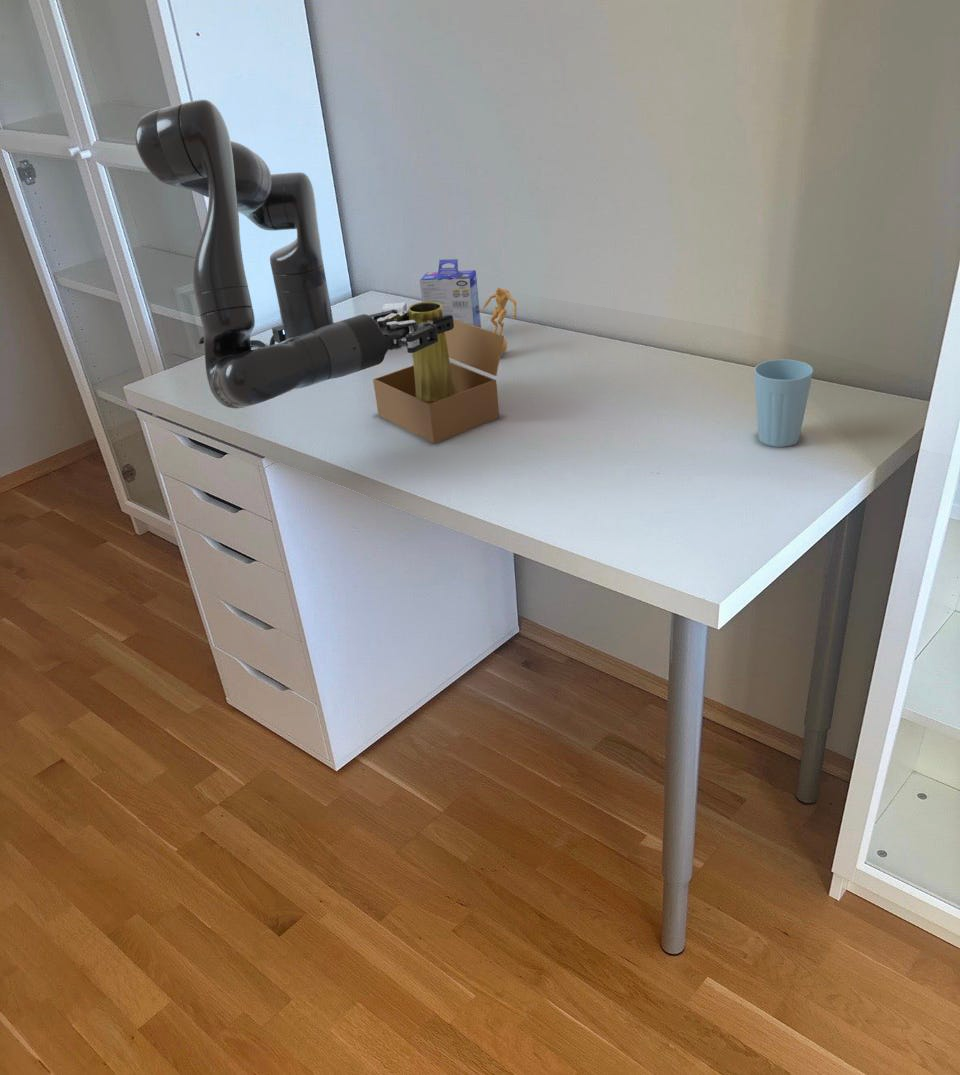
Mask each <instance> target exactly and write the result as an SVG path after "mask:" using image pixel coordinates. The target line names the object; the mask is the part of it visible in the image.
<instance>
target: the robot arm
mask: <svg viewBox="0 0 960 1075" xmlns="http://www.w3.org/2000/svg"><path fill="white" fill-rule="evenodd" d="M134 143H135V147H136V151H137V154H138V156H139V158H140V160H141V162H142V163H143V166H144V167H145V168H146V169H147V170H148V172H149V173H150V174H151V175H152V176H153V177H154V178H155V179H156V180H158V181H159V182H160V183H163V184H165V185H167V186H172V187H178V188H181V189H186V190H190V191H193V192H194V193H195V192H196V193H197V194H200V195H202V196H204V197H206V198H208V203H207V205H208V206H207V212H206V217H205V222H204V225H203V228H202V233H201V235H200V238H199V241H198V244H197V247H196V251H195V253H194V254H195V255H194V258H193V262H192V263H193V264H192V273H191V275H192V286H193V291H194V297H195V301H196V304H197V309H198V313H199V316H200V317H199V318H200V322H201V325H202V329H203V336H201V337H200V339H199V342H198V344H199V345H203V347H204V364H205V373H206V378H207V383H208V386H209V389H210V391H211V394H212V395H213V397H214V398H215V399H216V401H217V402H218V403H219V404H221V405H222V406H223V407H226V408H229V409H234V410H235V409H238V410H239V409H244V408H247V407H252V406H255V405H258V404H262V403H264V402H267V401H269V400H272V399H274V398H276V397H279V396H282V395H284V394H287V393H289V392H291V391H294V390H296V389H297V390H299V389H303V388H304V389H305V388H307V387H310V386H313V385H316V384H319V383H322V382H325V381H329V380H333V379H338V378H339V379H340V378H342V377H345V376H348V375H351V374H354V373H358V372H361V371H363V370H367V369H369V368H373V367H376V366H379V365H380V364H382V363H383V361H384V359H385V357H386V354H387V352H388V351H389V350H390V351H397V350H400V349H402V348H406V350H407V353H408V354H412V353H414V352H416V351H419V350H421V349H423V348H425V347H427V346H429V345H432V344H434V343H436V342H438V334H440V333H443V332H446V331H449V330H452V329H453V327H454V322H453V316H452V315H449V314H447V315H444V316H441V317H438V318H435V319H432V320H428V321H422V322H416V320H409V313H407V311H408V310H407V311H401V312H399V313H398V312H397V310H394V309H393V310H390V311H385V312H382V311H381V312H377V313H373V314H366V313H363V314H358V315H356V316H352V317H349V318H346V319H342V320H339V321H336V322H334V317H333V312H332V306H331V305H332V304H331V299H330V294H329V293H330V292H329V289H328V283H327V276H326V272H325V267H324V260H323V253H322V252H323V251H322V243H321V237H320V231H319V230H320V229H319V224H318V223H319V222H318V213H317V205H316V204H317V203H316V197H315V192H314V187H313V184H312V181H311V179H310V178H309V176H308V175H307V174H306V173H305V172H302V171H301V172H300V171H299V172H285V173H284V172H283V173H282V172H281V173H273V174H272V173H271V171H270V168H269V166H268V165H267V163H266V161H265V160H264V159H263V158H262V157H261V156H260V155H259V154H258V153H256V152H255V151H253V150H252V149H250V148H249V147H247V146H245V145H244V144H241V143H239V142H236V141H233V140H231V138H230V133H229V130H228V127H227V125H226V121H225V119H224V117H223V115H222V113H221V112H220V110H219V109H218V108H217V106H216V105H215V104H214V103H213V102H212V101H210V100H207V99H196V100H192V101H187V102H183V103H179V104H175V105H170V106H166V107H162V108H160V109H155V110H152V111H149V112H148V113H146V114H145V115H143V116H142V117H141V118H140V119H139V120H138V123H136V126H135V131H134ZM239 214H241V215H244V217H246V218H247V219H248V220H249V221H250V222H252V223H253V224H254V225H255V226H256V227H258V228H259V229H262V230H264V231H271V232H274V231H287V230H290V231H291V230H296V238H295V239H294V240H293V241H292V242H290V243H289V244H287V245H285V246H283V247H280V248H279V249H276V250H275V251H273V252H272V254H270V257H269V264H270V268H271V273H272V279H273V283H274V289H275V293H276V298H277V303H278V308H279V313H280V320H281V325H277V326H273V327H271V331H272V336H271V337H270V340H269V345H266V344H265V343H264V342H263V341H261V340H257V339H254V340H253V339H251V335H252V332H253V330H254V328H255V324H256V322H255V321H256V320H255V319H256V318H255V312H254V308H253V304H252V299H251V293H250V289H249V285H248V281H247V276H246V272H245V265H244V259H243V252H242V244H241V231H240V229H241V228H240V218H239ZM410 326H412V331H413V332H410ZM421 327H423V328H421ZM419 328H421V329H419ZM252 346H258V347H257V348H253V349H252Z"/></svg>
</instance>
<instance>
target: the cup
mask: <svg viewBox="0 0 960 1075" xmlns="http://www.w3.org/2000/svg"><path fill="white" fill-rule="evenodd" d="M753 373H754V387H755V388H754V390H755V404H756V420H757V422H756V423H757V434H758V435H757V436H758V440H759V442H761V443H762V444H763V445H766V446H769V447H773V448H774V447H775V448H776V447H777V448H784V447H790V446H793V445H795V444H797V443H798V442H799V440H800V438H801V432H802V427H803V422H804V418H805V412H806V408H807V403H808V397H809V393H810V389H811V385H812V384H811V383H812V378H813V374H814V368H813V367H812V365H810V364H809V363H807V362H804V361H801V360H797V359H785V358H784V359H783V358H782V359H778V358H777V359H771V360H770V359H769V360H766V361H762V362H761V363H758V364H756V365H755V367H754V369H753Z"/></svg>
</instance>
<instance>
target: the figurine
mask: <svg viewBox="0 0 960 1075" xmlns="http://www.w3.org/2000/svg"><path fill="white" fill-rule="evenodd" d="M494 298H495V302H496V305H497V306H495V307H494V308H493V309H494V310H493V313H492V314H491V317H490V318H489V320H490V322H491V323H492V324H493V325H494V329H493V331H492V332H494V333H497V334H500V335H503V334H502V333H503V331H504V326H505V325H504V322H503V321H504V320H505V317H506V315H507V313H508V311H507V309H506V306H507V303H508V301H510V302H512V304H513V314H512V315H511V317H512V320H514V321H516V319H517V301H516V299H515V298H513V296H511V294H510V291H509V289H506V288H501V287H497V288H496V289H495V293H493V294H490V296H489V297H488V299H487V301H485V303H484V305H483V307H482V310H481V313H483V312H484V309H485V308H486V307H487V306H488V305H489V303H490V302H491V300H492V299H494ZM496 319H497V320H496ZM499 326H500V329H499V331H498V327H499ZM497 331H498V332H497ZM507 348H508V343H507V340H506V338H505V337H504V339H503V345H502V350H501V355H500V357H501V356H503V355H504V354H505V352H506V351H507Z"/></svg>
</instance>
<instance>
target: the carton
mask: <svg viewBox="0 0 960 1075" xmlns="http://www.w3.org/2000/svg"><path fill="white" fill-rule="evenodd" d="M449 364H450V370H451V377H452V386H453V389H454V395H452V396H450V397H447V398H444V399H442V400H439V401H436V402H433V403H429V402H424V401H422V400H420V399H418V398H416V396H415V394H416V388H415V377H414V364H412V365H410V366H407V367H404V368H401V369H398V370H396V371H395V370H394V371H393V372H389V373H386V374H384V375H381V376H378V377H376V378H372V382H373V389H374V395H375V396H374V397H375V401H376V408H377V415H378V417H380V418H382V419H384V420H386V421H388V422H390V423H391V424H394V425H396V426H398V427H400V428H402V429H404V430H406V431H408V432H410V433H412V434H414V435H415V436H418V437H420V438H421V439H424V440H426V441H427V442H430V443H432V444H434V445H435V444H437V443H439V442H443V441H444V440H448V439H450V438H451V437H455V436H457V435H459V434H462V433H465V432H467V431H469V430H472V429H474V428H476V427H477V428H478V427H479V426H482V425H484V424H487V423H489V422H492V421H494V420H497V419H499V418H500V409H499V397H498V386H497V385H498V384H497V379H495V378H492V377H490V376H487V375H485V374H482V373H480V372H478V371H475V370H472V369H469V368H467V367H464V366H463V365H459V364H456V363H454V362H452V361H449Z"/></svg>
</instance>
